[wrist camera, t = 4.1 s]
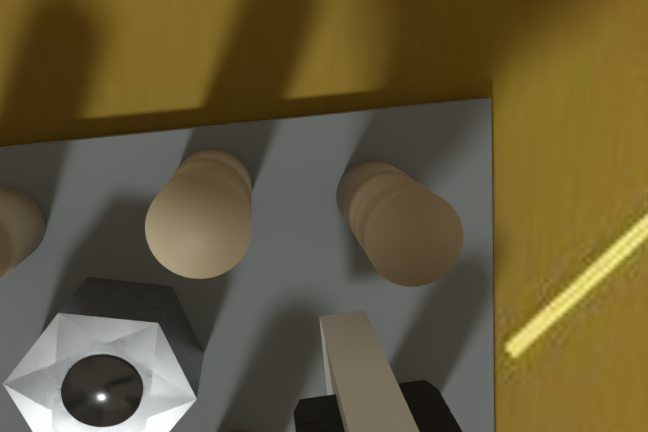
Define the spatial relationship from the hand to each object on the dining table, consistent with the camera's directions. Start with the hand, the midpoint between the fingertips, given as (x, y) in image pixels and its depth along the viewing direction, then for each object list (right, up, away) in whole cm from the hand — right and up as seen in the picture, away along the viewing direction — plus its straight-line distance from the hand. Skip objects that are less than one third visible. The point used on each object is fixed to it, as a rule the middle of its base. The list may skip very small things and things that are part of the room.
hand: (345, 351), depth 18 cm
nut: (-8, 0, +2) cm, 8 cm away
